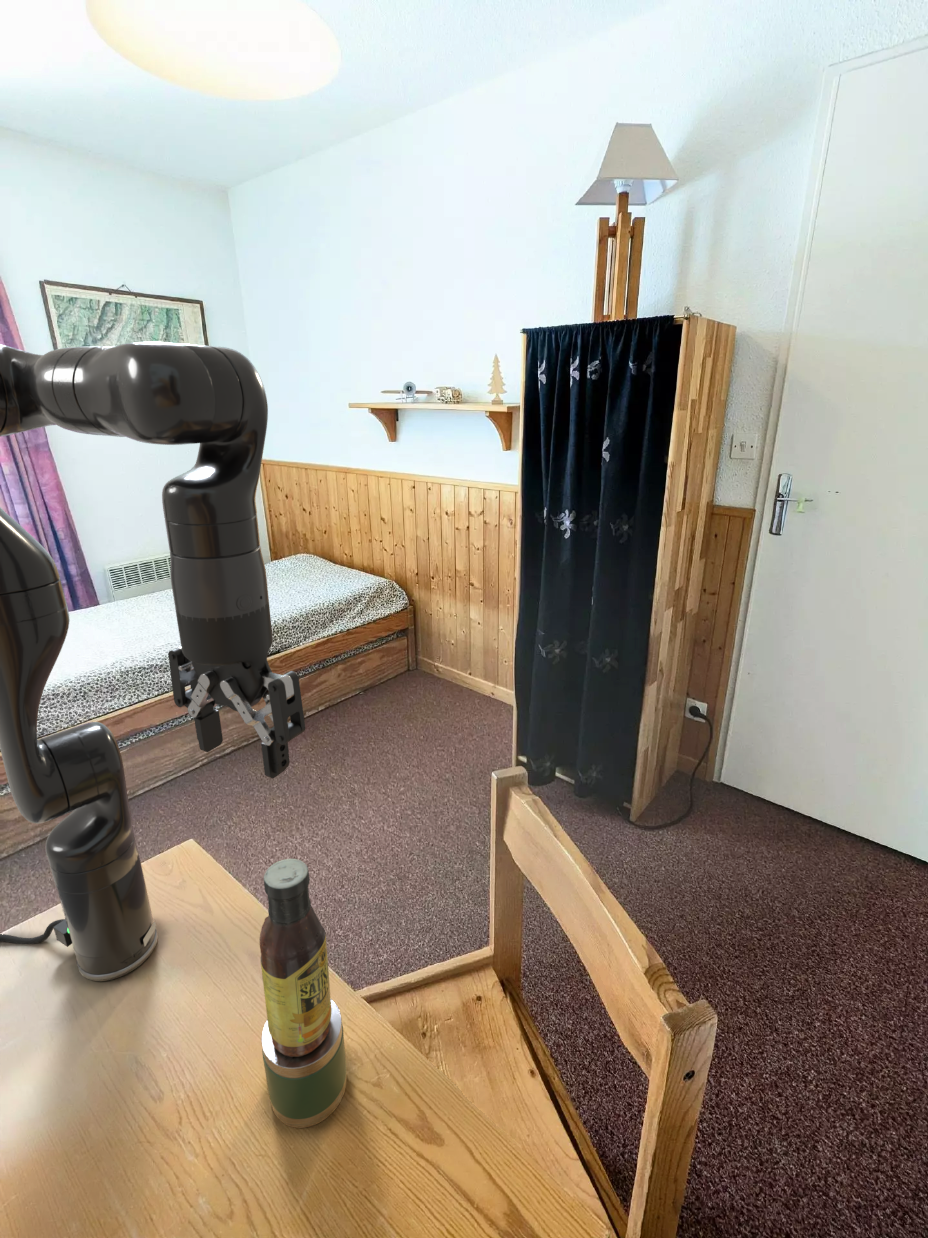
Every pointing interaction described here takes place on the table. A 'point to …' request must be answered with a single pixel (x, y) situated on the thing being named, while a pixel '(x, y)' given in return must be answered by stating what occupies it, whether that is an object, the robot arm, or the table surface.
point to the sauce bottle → (294, 962)
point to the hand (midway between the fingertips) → (243, 759)
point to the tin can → (307, 1077)
